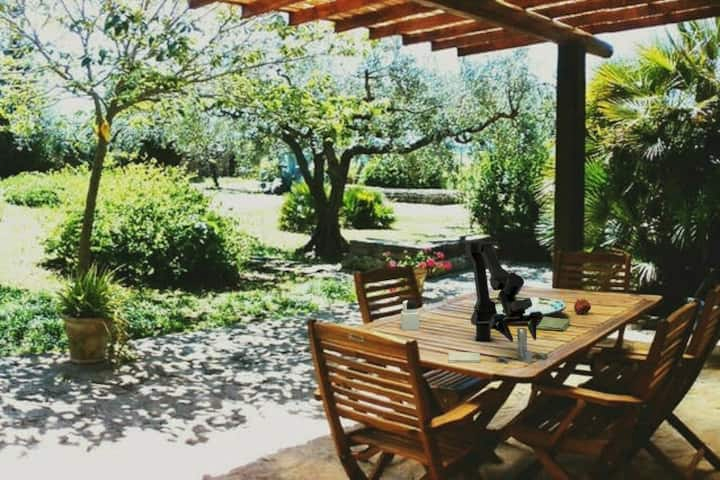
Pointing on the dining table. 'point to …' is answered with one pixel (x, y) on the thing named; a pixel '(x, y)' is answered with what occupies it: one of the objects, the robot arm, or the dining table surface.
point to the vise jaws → (502, 359)
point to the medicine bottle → (410, 316)
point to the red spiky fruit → (582, 306)
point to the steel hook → (522, 346)
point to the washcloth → (553, 324)
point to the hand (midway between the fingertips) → (523, 340)
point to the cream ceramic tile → (464, 357)
